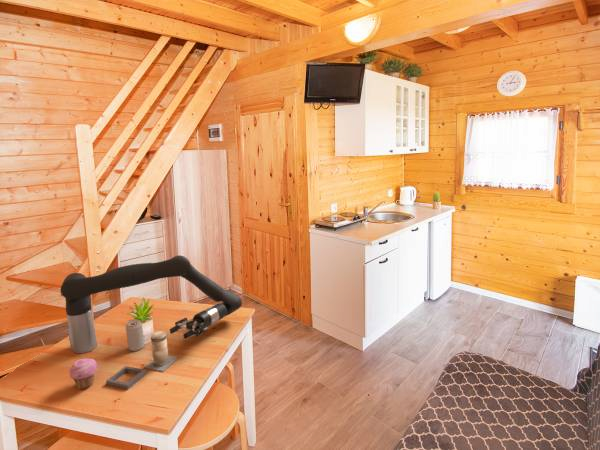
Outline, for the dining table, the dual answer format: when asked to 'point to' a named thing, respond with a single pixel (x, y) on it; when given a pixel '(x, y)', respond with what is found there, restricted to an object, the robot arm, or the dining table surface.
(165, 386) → the dining table surface
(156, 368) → the mat
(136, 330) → the beverage can
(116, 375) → the socket collar
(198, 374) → the dining table surface
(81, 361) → the cupcake
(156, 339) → the beige tall cylinder
